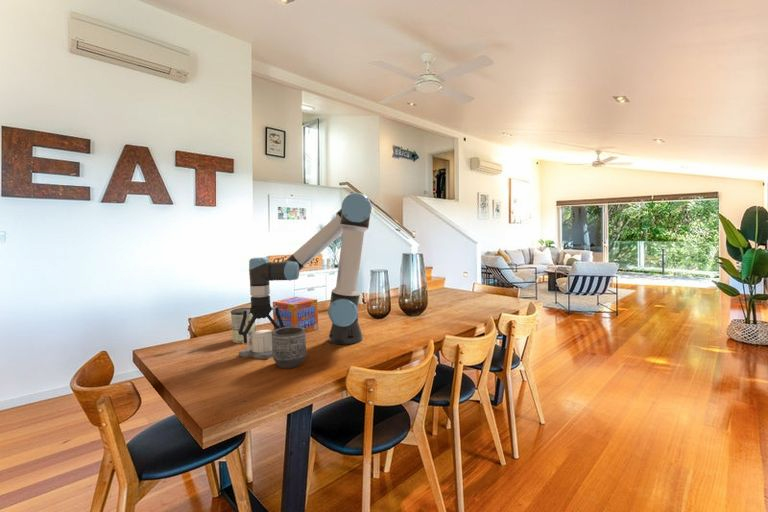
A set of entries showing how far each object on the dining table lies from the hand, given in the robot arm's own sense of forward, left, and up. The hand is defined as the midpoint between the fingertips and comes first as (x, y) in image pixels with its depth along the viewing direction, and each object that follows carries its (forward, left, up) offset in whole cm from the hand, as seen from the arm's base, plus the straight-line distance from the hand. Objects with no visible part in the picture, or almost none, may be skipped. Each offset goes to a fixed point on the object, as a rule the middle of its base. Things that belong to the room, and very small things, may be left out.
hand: (262, 348), depth 152 cm
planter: (-19, +8, -2) cm, 21 cm away
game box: (+6, -33, -2) cm, 34 cm away
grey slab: (0, 0, -2) cm, 2 cm away
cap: (0, 0, 0) cm, 0 cm away
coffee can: (+21, -13, -2) cm, 25 cm away
